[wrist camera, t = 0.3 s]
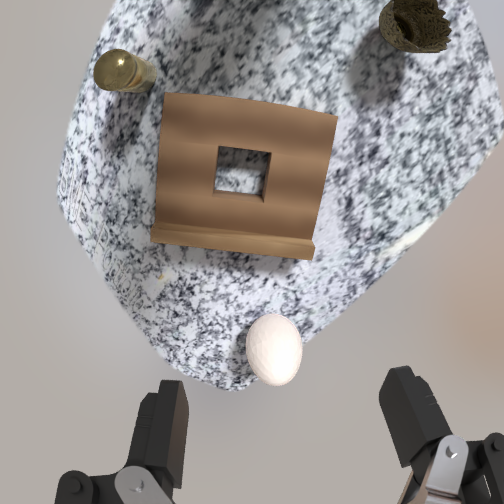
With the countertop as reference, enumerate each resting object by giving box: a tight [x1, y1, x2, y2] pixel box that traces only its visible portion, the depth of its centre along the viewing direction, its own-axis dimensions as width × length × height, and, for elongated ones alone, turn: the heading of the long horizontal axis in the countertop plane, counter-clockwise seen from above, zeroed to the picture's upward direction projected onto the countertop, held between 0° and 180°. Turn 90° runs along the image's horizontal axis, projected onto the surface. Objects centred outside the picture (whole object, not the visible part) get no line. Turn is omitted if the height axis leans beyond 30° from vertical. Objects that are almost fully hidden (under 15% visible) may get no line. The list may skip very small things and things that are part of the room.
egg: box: [246, 314, 302, 386], centre depth 39 cm, size 7×7×12 cm
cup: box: [379, 0, 452, 53], centre depth 23 cm, size 8×7×8 cm
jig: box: [151, 92, 338, 260], centre depth 32 cm, size 16×18×5 cm
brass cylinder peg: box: [93, 49, 157, 93], centre depth 25 cm, size 4×4×8 cm
